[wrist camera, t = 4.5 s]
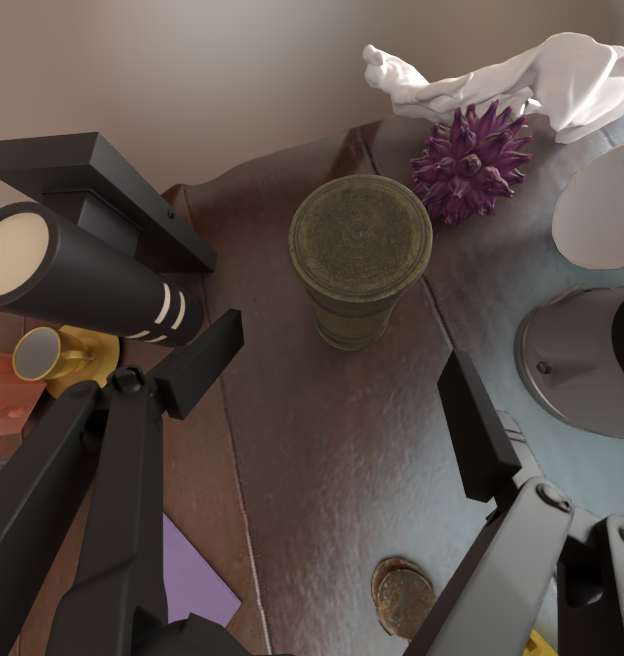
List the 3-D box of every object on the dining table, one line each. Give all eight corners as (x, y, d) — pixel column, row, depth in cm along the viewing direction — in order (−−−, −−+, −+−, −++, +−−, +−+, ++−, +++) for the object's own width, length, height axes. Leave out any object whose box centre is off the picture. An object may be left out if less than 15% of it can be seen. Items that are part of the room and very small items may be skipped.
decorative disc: (443, 573, 24) (447, 581, 23) (433, 648, 23) (437, 659, 22) (377, 548, 26) (378, 554, 25) (364, 618, 24) (364, 628, 23)
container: (401, 322, 30) (480, 239, 13) (344, 366, 30) (344, 341, 13) (355, 270, 33) (370, 140, 15) (301, 311, 32) (252, 225, 15)
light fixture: (138, 345, 34) (-75, 305, 17) (157, 255, 37) (-6, 141, 20) (204, 348, 33) (48, 308, 15) (218, 254, 36) (101, 131, 18)
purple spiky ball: (388, 231, 35) (418, 149, 34) (479, 253, 32) (513, 164, 31) (396, 180, 24) (440, 57, 23) (537, 207, 21) (591, 68, 20)
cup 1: (35, 401, 34) (-21, 404, 29) (57, 317, 37) (9, 305, 31) (112, 403, 32) (68, 407, 27) (129, 316, 35) (92, 304, 30)
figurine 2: (772, 32, 18) (349, 73, 24) (610, 192, 28) (350, 192, 35) (686, -30, 23) (365, 16, 30) (578, 122, 34) (361, 133, 41)
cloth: (241, 602, 26) (240, 605, 26) (152, 729, 24) (149, 735, 24) (156, 504, 29) (154, 506, 29) (73, 611, 28) (69, 615, 27)
